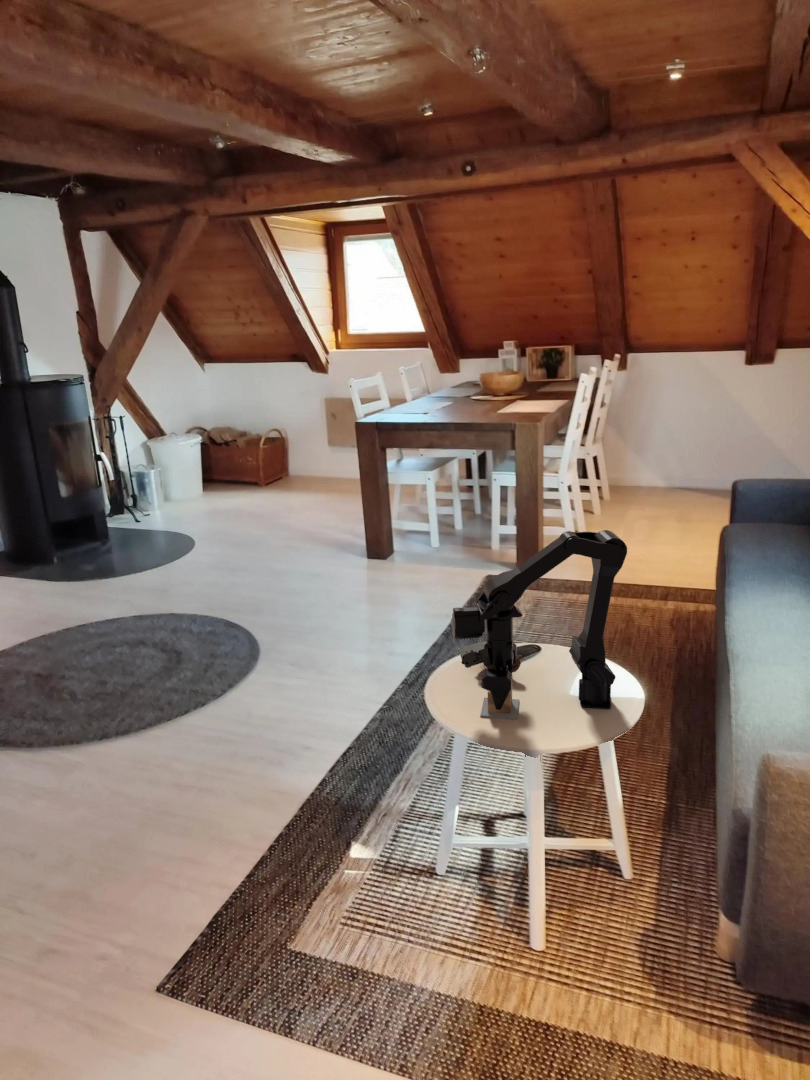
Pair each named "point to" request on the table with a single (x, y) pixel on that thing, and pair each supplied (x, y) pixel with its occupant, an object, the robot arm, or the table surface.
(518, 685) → the table surface
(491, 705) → the walnut block
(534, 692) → the table surface
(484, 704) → the felt coaster
